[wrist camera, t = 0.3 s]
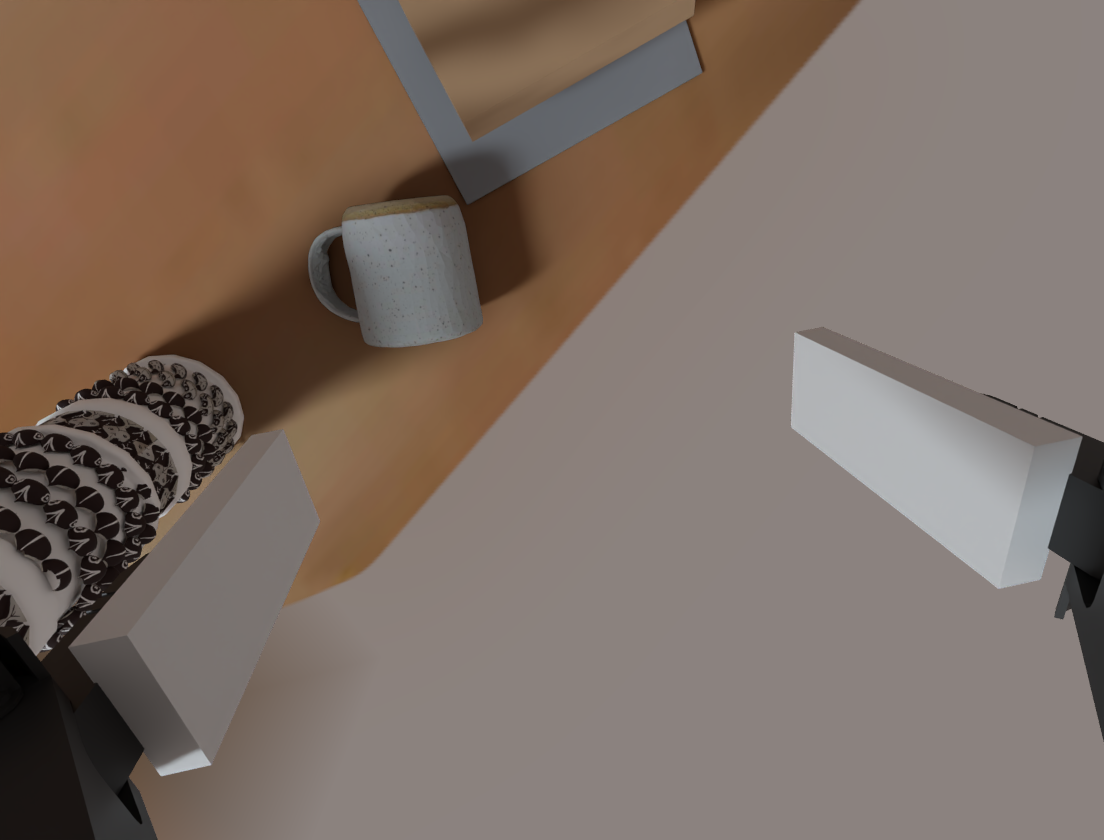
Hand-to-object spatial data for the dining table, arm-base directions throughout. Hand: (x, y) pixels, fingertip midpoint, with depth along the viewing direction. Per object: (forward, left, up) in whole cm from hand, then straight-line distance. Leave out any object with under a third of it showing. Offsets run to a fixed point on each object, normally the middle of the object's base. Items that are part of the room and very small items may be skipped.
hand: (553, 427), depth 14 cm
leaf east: (-11, +9, -23) cm, 27 cm away
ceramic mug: (-3, -6, -27) cm, 28 cm away
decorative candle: (-2, -25, -26) cm, 37 cm away
